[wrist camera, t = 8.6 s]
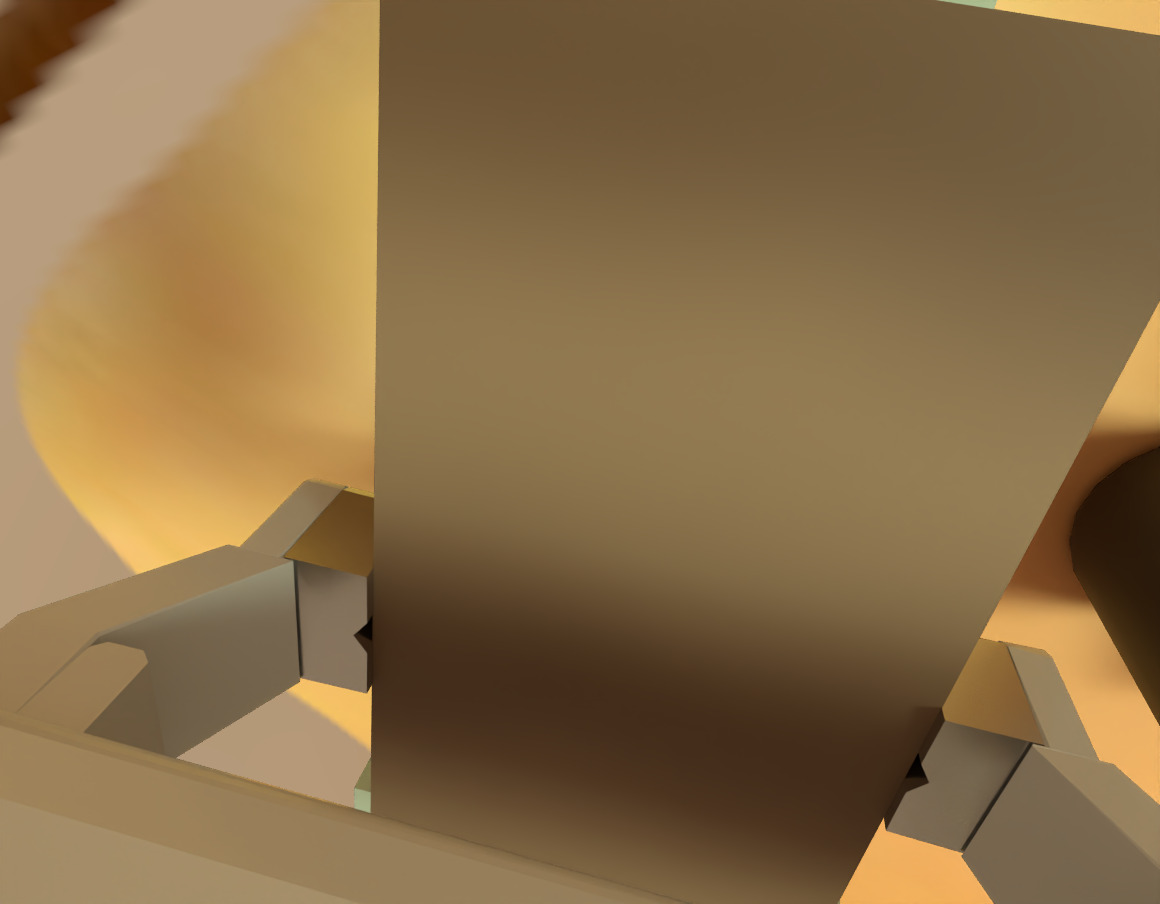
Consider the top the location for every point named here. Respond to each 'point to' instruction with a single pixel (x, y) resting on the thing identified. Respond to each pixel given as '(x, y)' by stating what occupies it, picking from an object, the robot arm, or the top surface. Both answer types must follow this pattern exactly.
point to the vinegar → (1125, 565)
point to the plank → (725, 404)
